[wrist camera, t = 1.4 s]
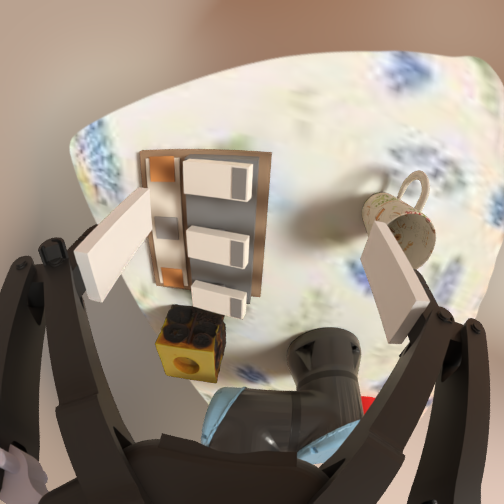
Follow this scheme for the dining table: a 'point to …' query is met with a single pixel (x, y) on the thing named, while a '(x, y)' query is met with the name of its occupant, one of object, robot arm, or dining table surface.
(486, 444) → the robot arm
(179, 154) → the switch board
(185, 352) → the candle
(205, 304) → the block
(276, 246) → the dining table surface
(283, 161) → the dining table surface
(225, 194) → the block
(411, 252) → the mug
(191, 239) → the rocker middle
